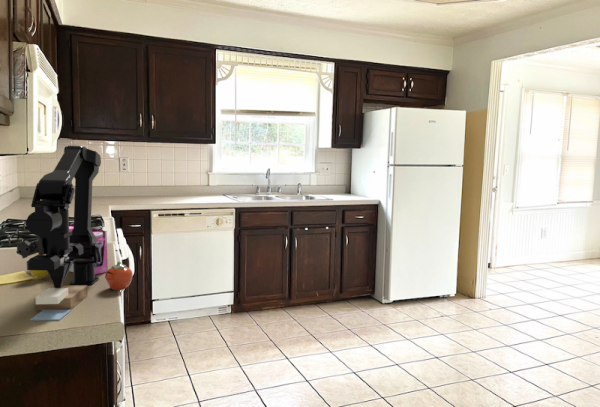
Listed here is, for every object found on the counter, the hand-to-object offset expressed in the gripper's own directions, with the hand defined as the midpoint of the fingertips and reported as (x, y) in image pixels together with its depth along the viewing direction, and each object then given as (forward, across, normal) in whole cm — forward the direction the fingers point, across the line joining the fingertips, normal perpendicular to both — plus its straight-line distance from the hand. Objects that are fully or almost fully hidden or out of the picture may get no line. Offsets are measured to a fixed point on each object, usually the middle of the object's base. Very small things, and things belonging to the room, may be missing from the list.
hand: (58, 289), depth 116 cm
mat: (+4, +7, +1) cm, 8 cm away
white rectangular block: (+1, +4, 0) cm, 4 cm away
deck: (+4, -2, 0) cm, 5 cm away
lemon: (+4, -24, -16) cm, 29 cm away
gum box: (+5, -37, -10) cm, 39 cm away
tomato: (+5, -15, +10) cm, 19 cm away
